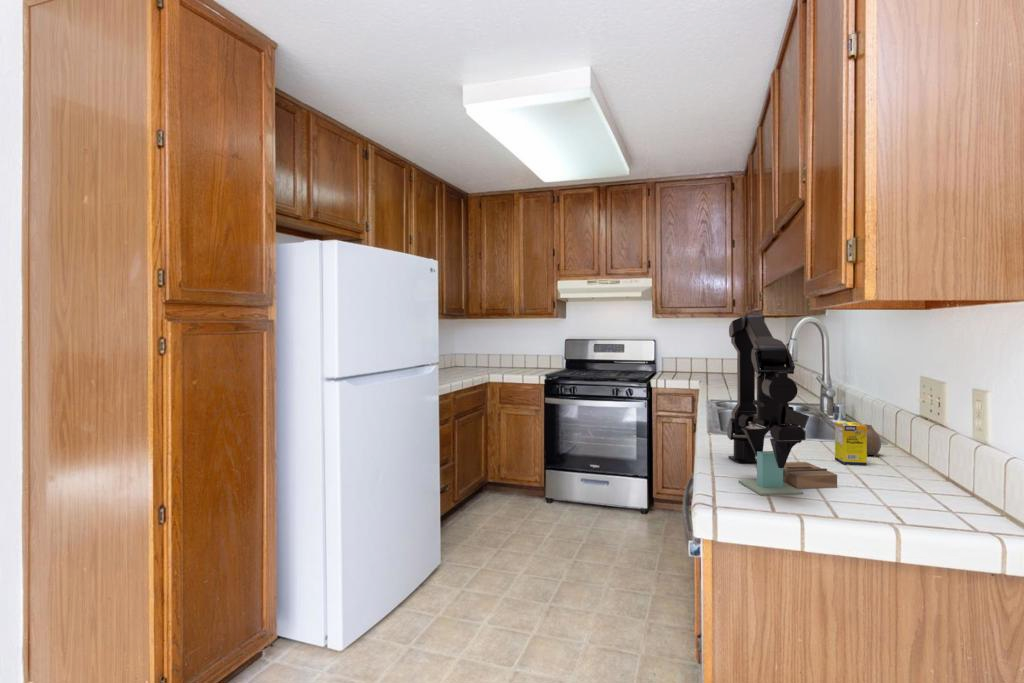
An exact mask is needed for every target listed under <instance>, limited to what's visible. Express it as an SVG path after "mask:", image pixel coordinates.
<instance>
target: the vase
mask: <svg viewBox="0 0 1024 683" xmlns="http://www.w3.org/2000/svg"><path fill="white" fill-rule="evenodd" d="M862 424H863V423H862ZM863 425H865V426H867V455H875V456H876V455H878V453H879V452H880V450H881V449H882V440H881V438H880V435H879V434H878V433H877V431H876V430H875V429H874V427H873V425H871V424H865V423H864V424H863Z"/></svg>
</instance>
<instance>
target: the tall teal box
mask: <svg viewBox="0 0 1024 683" xmlns="http://www.w3.org/2000/svg"><path fill="white" fill-rule="evenodd" d="M756 459H757V463H756V480H757V485H758V486H760V487H762V488H773V487H783V468H778V465H777V462H776V459H775V455H774V452H773V450H768V451H767V450H763V451H757V457H756Z"/></svg>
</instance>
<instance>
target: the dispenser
mask: <svg viewBox="0 0 1024 683" xmlns="http://www.w3.org/2000/svg"><path fill="white" fill-rule="evenodd" d="M783 482H784V483H786V484H788V485H790V486H792V487H794V488H796V489H798V490H800V489H825V488H826V489H827V488H830V489H831V488H838V474H837V473H834V472H831V471H829V470H828V468H826V467H825V468H824V467H823V468H821V467H819V466H816V465H814V464H812V463H810V462H807V461H789V462H787V461H786V463H785V466H784V468H783Z"/></svg>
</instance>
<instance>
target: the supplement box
mask: <svg viewBox="0 0 1024 683" xmlns="http://www.w3.org/2000/svg"><path fill="white" fill-rule="evenodd" d="M834 436H835V437H834V460H835V461H837V462H838V463H840V464H842V465H847V464H855V465H854V466H867V465H868V464H867V463H868V460H867V459H868V456H867V426H865V425H863V423H860V422H858V421H857V422H855V421H835V422H834Z"/></svg>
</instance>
